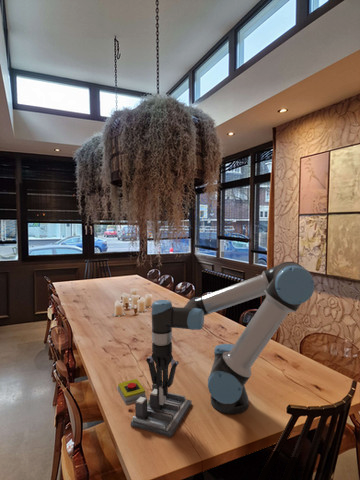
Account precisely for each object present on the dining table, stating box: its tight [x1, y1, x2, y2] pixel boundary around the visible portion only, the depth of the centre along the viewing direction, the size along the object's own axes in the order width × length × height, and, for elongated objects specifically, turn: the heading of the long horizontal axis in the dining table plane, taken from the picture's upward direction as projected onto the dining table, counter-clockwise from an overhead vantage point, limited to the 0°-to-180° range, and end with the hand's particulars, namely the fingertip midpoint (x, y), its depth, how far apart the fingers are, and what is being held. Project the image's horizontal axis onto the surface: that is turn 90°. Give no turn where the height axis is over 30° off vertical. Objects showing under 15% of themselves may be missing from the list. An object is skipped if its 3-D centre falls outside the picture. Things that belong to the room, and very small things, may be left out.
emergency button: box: [116, 378, 148, 405], centre depth 124 cm, size 9×4×15 cm
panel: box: [130, 391, 193, 438], centre depth 109 cm, size 16×20×3 cm
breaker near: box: [134, 397, 148, 419], centre depth 105 cm, size 3×4×7 cm
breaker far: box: [151, 383, 163, 392], centre depth 117 cm, size 3×4×7 cm
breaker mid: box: [149, 389, 161, 410], centre depth 110 cm, size 3×4×7 cm
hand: (162, 402), depth 109 cm, fingers closed
